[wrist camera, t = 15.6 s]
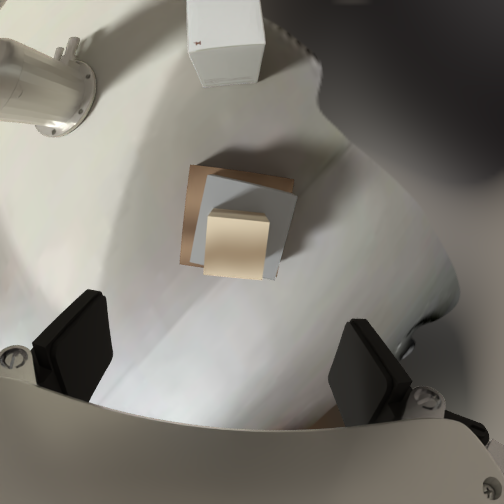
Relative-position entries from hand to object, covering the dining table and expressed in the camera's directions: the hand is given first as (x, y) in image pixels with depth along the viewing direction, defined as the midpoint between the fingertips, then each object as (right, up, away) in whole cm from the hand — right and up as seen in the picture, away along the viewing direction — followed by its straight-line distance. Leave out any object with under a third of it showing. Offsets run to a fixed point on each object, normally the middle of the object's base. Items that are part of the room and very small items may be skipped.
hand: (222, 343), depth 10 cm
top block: (0, +7, +23) cm, 24 cm away
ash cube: (-1, +5, +18) cm, 19 cm away
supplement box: (-2, +29, +21) cm, 36 cm away
